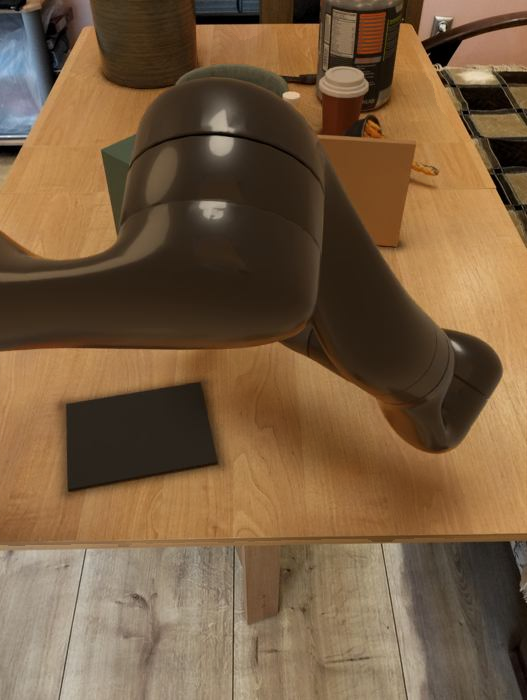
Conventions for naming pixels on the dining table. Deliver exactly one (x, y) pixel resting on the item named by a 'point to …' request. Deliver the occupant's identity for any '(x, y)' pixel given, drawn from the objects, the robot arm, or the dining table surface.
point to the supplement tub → (360, 43)
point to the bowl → (240, 76)
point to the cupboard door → (374, 180)
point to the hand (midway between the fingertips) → (175, 238)
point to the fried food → (372, 129)
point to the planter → (145, 40)
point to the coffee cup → (341, 99)
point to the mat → (137, 436)
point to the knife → (302, 78)
